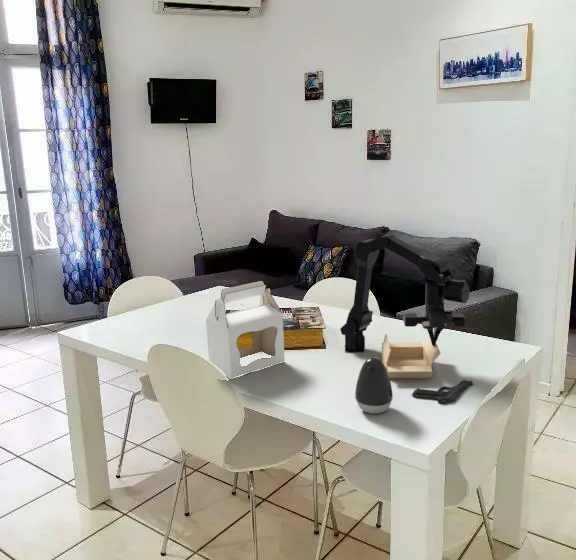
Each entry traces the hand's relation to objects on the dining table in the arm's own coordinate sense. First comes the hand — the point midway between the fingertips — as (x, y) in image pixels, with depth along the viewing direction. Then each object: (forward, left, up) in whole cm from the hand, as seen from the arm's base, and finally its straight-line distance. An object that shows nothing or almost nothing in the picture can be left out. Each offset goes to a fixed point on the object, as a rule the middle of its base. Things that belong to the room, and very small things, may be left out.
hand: (433, 345), depth 196 cm
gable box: (-61, +3, -8) cm, 61 cm away
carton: (-9, 0, -8) cm, 12 cm away
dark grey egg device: (-21, -31, -8) cm, 38 cm away
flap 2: (-2, 0, -3) cm, 4 cm away
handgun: (0, -18, -8) cm, 20 cm away
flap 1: (-16, 0, -3) cm, 16 cm away
